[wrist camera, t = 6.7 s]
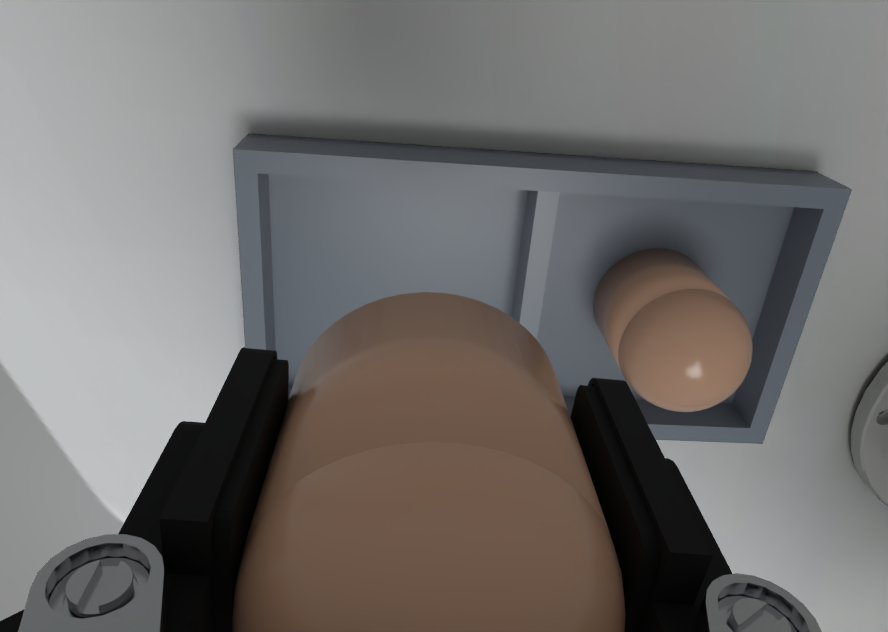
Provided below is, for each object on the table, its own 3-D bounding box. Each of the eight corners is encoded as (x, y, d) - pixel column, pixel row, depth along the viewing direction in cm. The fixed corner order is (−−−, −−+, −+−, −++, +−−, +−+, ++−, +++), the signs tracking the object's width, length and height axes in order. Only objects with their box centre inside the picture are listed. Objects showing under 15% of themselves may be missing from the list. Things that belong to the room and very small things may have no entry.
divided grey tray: (816, 171, 27) (851, 189, 25) (738, 411, 33) (762, 443, 30) (248, 133, 26) (232, 149, 24) (262, 391, 31) (250, 424, 29)
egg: (585, 305, 11) (753, 640, 6) (534, 524, 14) (620, 929, 8) (293, 279, 11) (157, 610, 5) (288, 508, 13) (188, 921, 7)
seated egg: (718, 251, 28) (795, 322, 22) (690, 352, 30) (754, 440, 25) (604, 244, 28) (653, 315, 22) (584, 347, 30) (624, 436, 24)
